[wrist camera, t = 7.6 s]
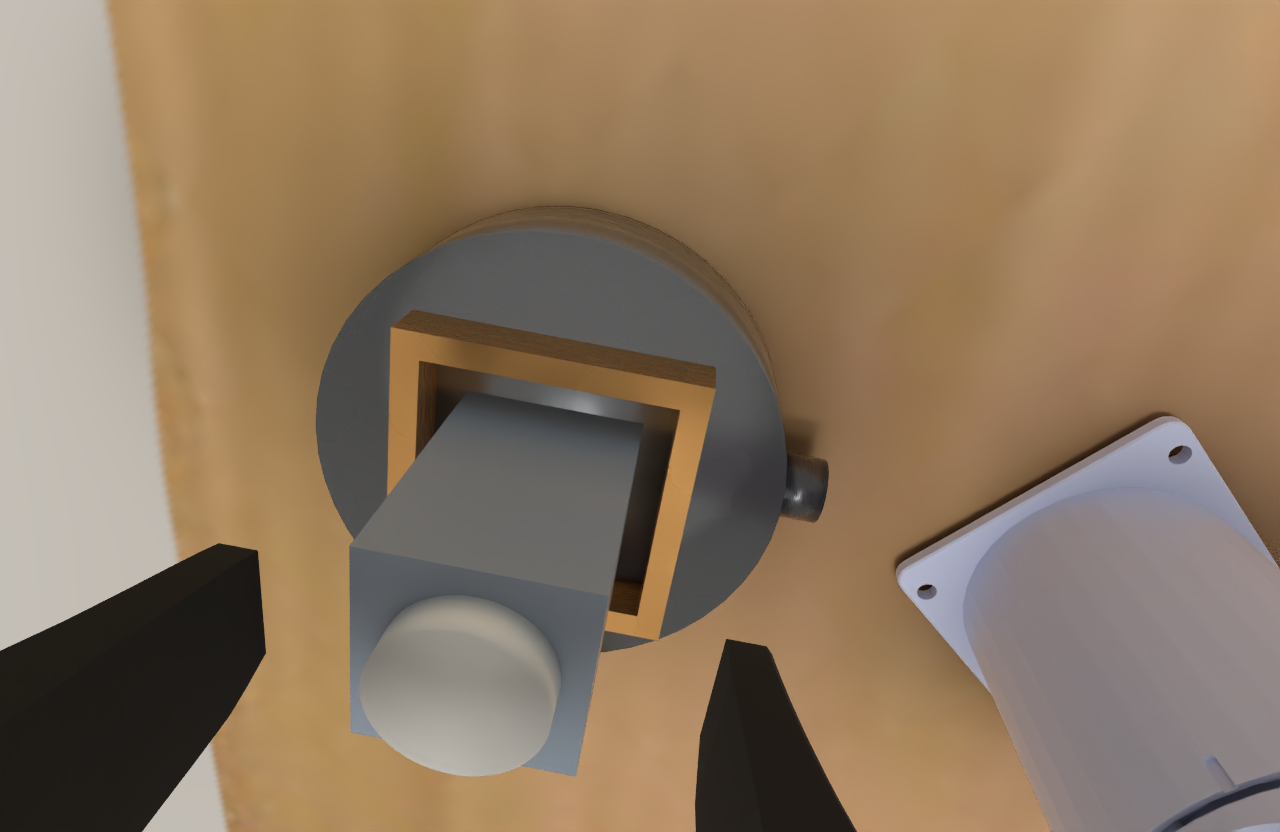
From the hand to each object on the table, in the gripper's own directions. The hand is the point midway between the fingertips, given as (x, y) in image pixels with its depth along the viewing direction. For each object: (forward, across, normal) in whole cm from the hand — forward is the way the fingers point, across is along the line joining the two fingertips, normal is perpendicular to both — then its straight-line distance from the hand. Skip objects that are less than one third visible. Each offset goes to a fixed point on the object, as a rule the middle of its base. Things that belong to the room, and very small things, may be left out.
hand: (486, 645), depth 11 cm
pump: (+6, 0, +1) cm, 6 cm away
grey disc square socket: (+9, 0, +1) cm, 9 cm away
